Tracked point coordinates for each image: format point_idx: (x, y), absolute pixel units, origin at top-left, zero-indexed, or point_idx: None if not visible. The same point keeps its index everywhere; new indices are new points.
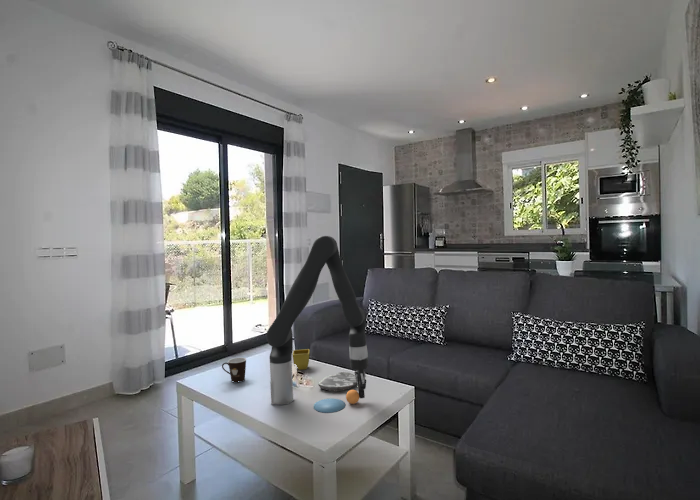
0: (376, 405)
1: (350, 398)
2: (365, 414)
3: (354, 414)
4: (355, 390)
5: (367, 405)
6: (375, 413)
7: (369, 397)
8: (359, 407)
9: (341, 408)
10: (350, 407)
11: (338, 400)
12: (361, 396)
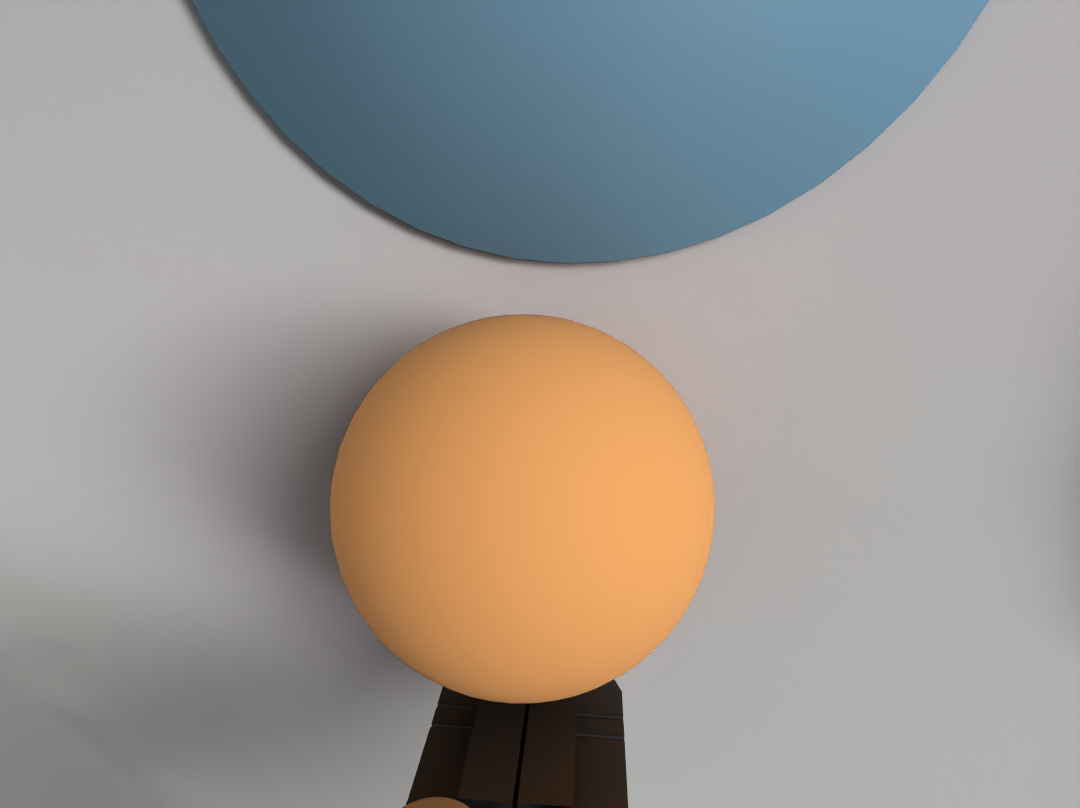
0: (345, 781)
1: (353, 419)
2: (16, 536)
3: (19, 350)
4: (524, 689)
5: (375, 659)
6: (48, 687)
7: (717, 779)
8: (316, 510)
9: (295, 117)
10: (349, 340)
11: (797, 118)
12: (449, 695)
